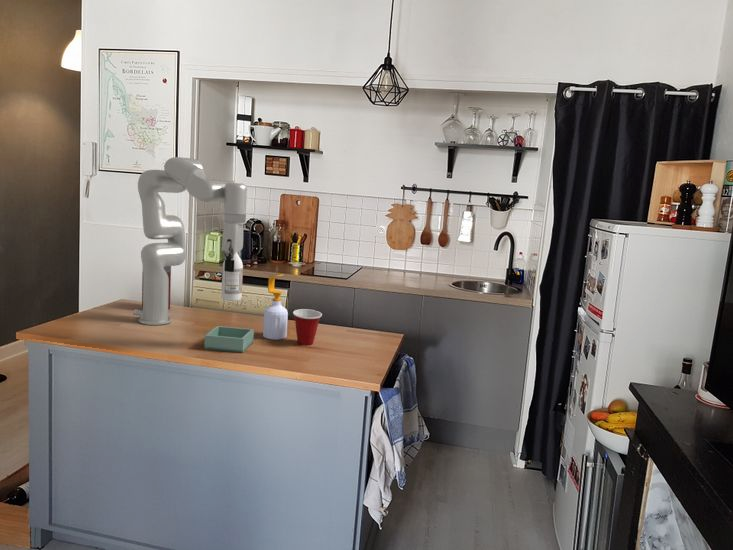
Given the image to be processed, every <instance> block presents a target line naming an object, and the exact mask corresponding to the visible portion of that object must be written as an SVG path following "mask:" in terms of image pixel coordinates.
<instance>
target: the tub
mask: <svg viewBox="0 0 733 550" xmlns="http://www.w3.org/2000/svg"><path fill="white" fill-rule="evenodd" d="M254 334H255V329H252V328H246V327H245V328H244V327H232V326H222V325H221V326H220V325H217V326H216V327H214V328H213V329H212V330H210V331H209V332H207V333H206V334H205V335H204V348H203V349H204V350H207V351H218V352H219V351H220V352H228V353H239V354H240V353H241V354H244V352H246V350H247V349H248V348H250V346H251V345H252V344H253V343H254V336H255V335H254Z"/></svg>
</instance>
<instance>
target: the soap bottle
mask: <svg viewBox="0 0 733 550" xmlns="http://www.w3.org/2000/svg"><path fill="white" fill-rule="evenodd" d="M284 274H285V273H284ZM284 274H279V275H274V276H271V277H270V276H269V278H268V282H267V290H268V293H271V294H273V296H274V298H272V299H271V301H272V303H271V305H268V306H267V307H266V308H265V309H264V311H263V328H262V329H263V331H262V337H263V338H264V339H267V340H272V341H273V340H274V341H279V340H283V339H286V338H287V335H288V321H289V320H288V319H289V318H288V316H289V313H288V309H287V308H286V307H284V305H282V299H281V298H280V296H281V295H282V294H285V291H282V290H276V289H275V281H276V279H275V278H277V277H281V276H284Z"/></svg>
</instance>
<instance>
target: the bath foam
mask: <svg viewBox="0 0 733 550" xmlns="http://www.w3.org/2000/svg"><path fill="white" fill-rule="evenodd" d="M230 251H232V250H230ZM231 256H232V254H231ZM233 260H234V271H233V272H229V271H225V259H224V260H223V263H222V271H221V275H222V277H221V299H222V300H223V301H226V302H238V301H241V300H242V299H243V298H242V297H243V296H242V295H243V292H242V291H243V276H244V275H243V274H244V273H243V272H244V265H243V261H242V258H241V259H240V257H239V255H238V252H235V254H234V259H233Z"/></svg>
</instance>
